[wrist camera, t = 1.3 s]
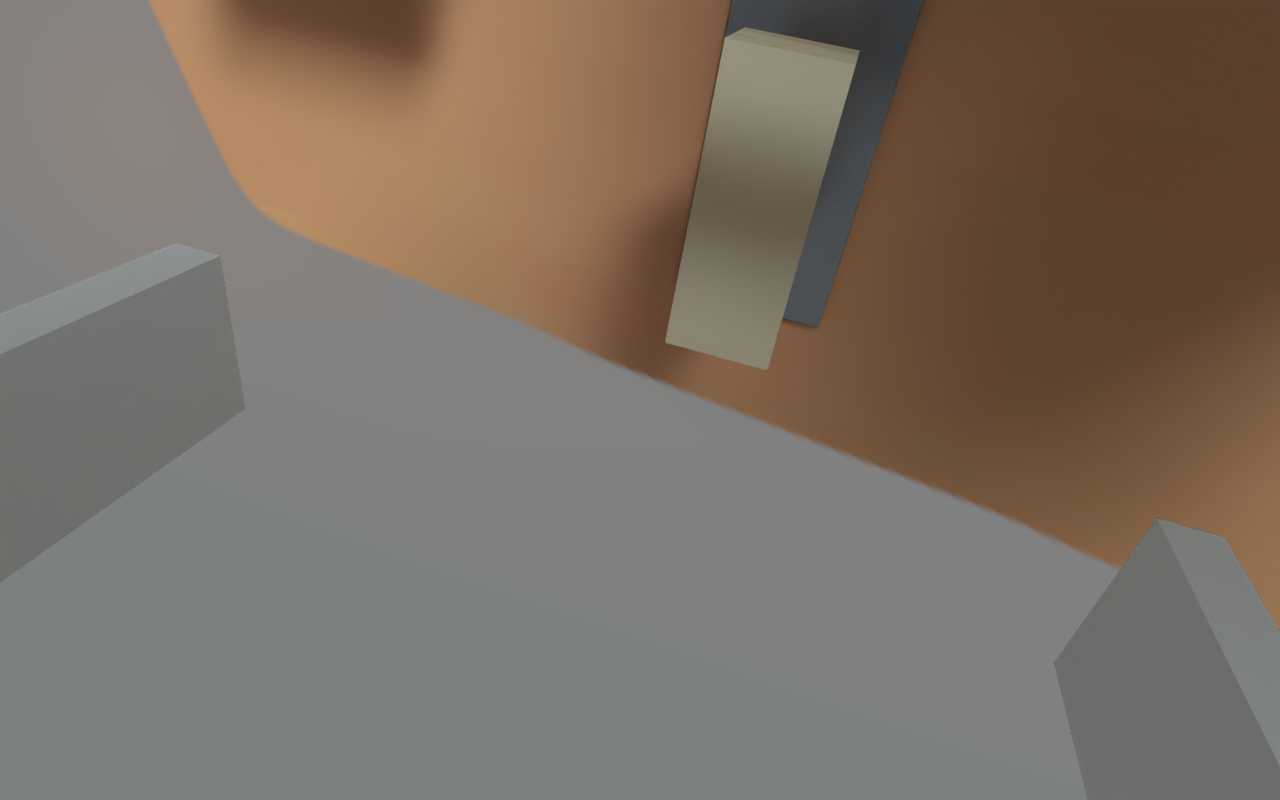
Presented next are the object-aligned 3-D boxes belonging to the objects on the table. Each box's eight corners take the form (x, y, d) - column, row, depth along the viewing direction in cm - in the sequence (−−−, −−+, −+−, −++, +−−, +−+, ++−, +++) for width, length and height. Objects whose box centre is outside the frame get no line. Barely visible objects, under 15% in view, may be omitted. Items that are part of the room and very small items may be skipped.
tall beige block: (818, 323, 30) (794, 459, 22) (677, 286, 31) (603, 403, 23) (962, -123, 22) (1008, -169, 14) (765, -156, 23) (699, -218, 15)
